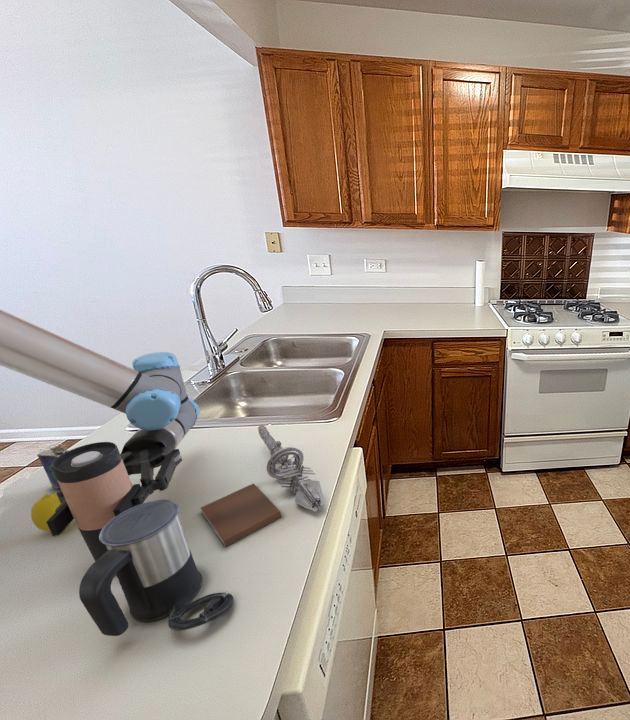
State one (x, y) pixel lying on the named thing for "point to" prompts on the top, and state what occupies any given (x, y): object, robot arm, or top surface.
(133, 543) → the milk frother
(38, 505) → the lemon
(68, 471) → the travel mug
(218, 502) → the serving board
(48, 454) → the flask
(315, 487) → the spaceship
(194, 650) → the top surface
